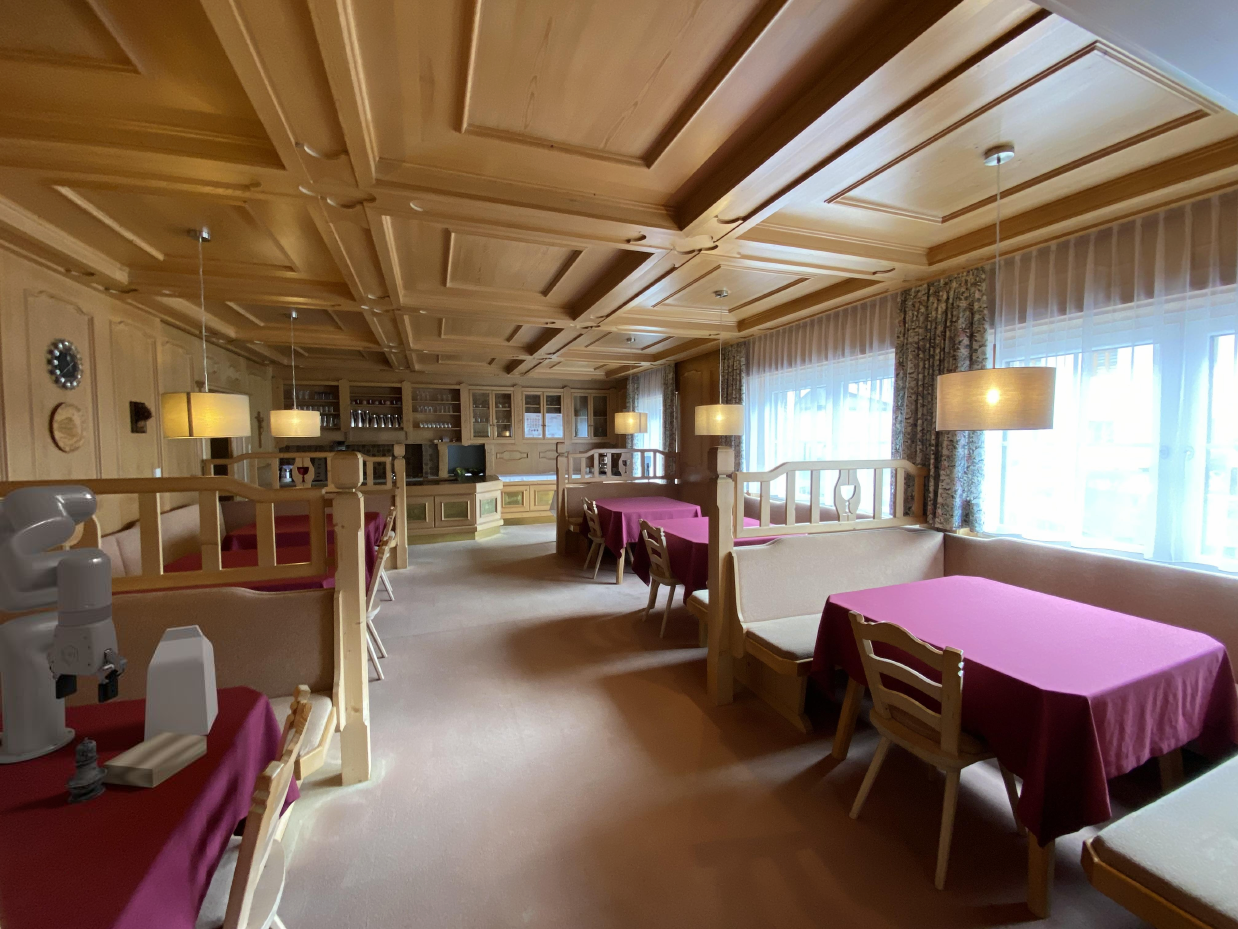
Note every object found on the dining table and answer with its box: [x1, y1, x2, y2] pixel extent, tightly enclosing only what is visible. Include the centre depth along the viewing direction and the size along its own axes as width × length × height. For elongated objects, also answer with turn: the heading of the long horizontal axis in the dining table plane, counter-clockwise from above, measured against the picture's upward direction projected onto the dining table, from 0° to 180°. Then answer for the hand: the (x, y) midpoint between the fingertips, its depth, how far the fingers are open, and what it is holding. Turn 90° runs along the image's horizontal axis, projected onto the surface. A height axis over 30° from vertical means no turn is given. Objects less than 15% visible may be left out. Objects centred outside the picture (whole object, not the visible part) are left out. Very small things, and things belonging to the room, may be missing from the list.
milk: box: [143, 624, 219, 742], centre depth 126 cm, size 12×12×26 cm
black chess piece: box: [65, 737, 107, 804], centre depth 102 cm, size 6×6×12 cm
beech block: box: [102, 732, 208, 789], centre depth 111 cm, size 12×12×4 cm
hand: (87, 697), depth 102 cm, fingers open, 9 cm apart
